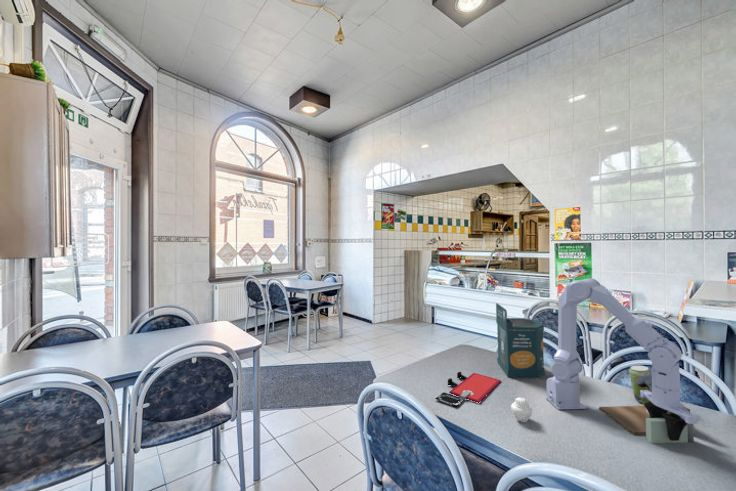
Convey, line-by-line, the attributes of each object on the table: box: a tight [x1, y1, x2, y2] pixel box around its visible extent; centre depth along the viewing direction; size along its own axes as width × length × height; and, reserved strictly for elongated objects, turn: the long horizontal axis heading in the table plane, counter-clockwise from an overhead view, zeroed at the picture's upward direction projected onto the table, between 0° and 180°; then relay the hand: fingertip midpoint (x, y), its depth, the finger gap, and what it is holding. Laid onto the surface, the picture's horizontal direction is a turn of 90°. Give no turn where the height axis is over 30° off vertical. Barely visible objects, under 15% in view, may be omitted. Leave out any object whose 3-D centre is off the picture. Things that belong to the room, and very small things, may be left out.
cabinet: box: [598, 390, 691, 436], centre depth 98 cm, size 16×14×7 cm
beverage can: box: [628, 364, 652, 405], centre depth 109 cm, size 6×7×12 cm
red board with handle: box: [435, 371, 502, 407], centre depth 121 cm, size 30×3×15 cm
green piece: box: [645, 418, 695, 444], centre depth 88 cm, size 12×2×6 cm, turn 89°
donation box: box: [495, 303, 546, 379], centre depth 138 cm, size 16×16×28 cm
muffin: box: [510, 397, 533, 423], centre depth 100 cm, size 6×6×7 cm
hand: (666, 435), depth 88 cm, fingers open, 4 cm apart
